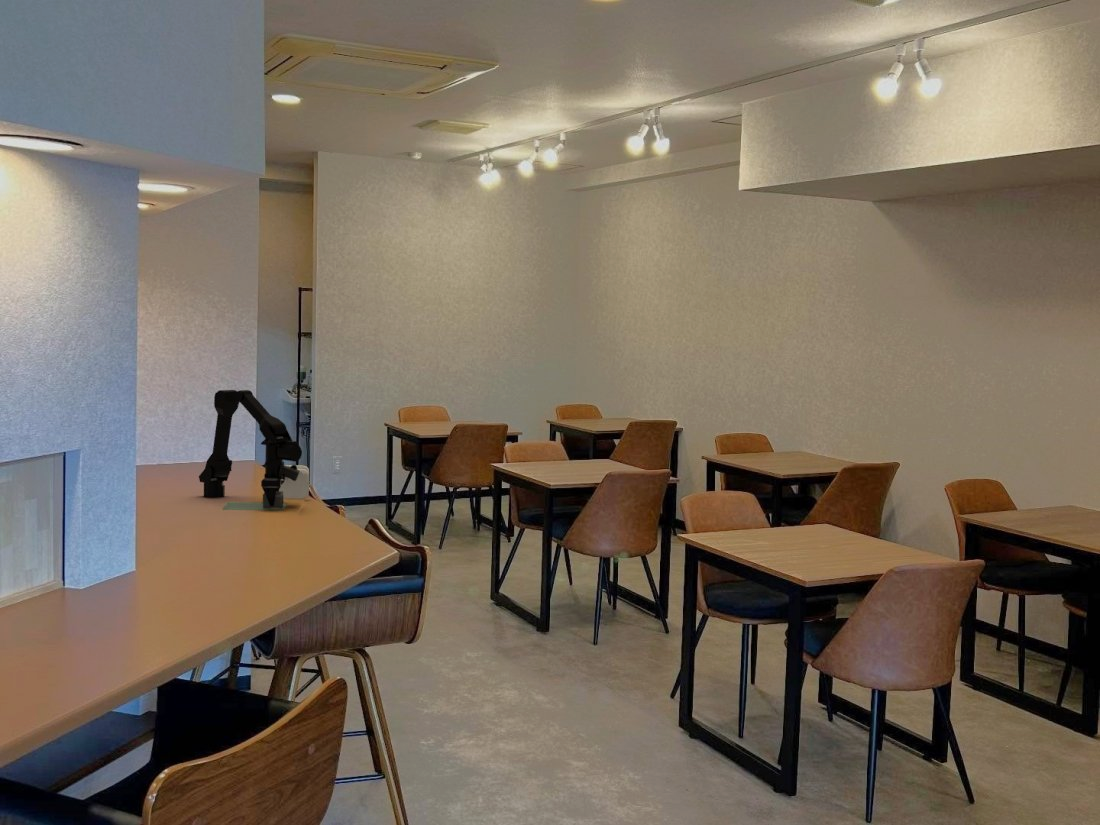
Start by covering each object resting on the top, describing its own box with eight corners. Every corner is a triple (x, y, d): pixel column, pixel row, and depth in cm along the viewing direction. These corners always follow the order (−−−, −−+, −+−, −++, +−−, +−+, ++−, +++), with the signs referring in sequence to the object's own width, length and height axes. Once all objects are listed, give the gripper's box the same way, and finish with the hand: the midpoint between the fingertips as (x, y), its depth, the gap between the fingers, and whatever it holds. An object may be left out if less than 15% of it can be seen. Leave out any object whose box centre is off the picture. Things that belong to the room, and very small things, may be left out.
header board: (221, 511, 342) (221, 500, 341) (228, 504, 356) (228, 493, 355) (283, 512, 345) (283, 501, 345) (287, 505, 359) (287, 494, 358)
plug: (263, 508, 347) (262, 495, 347) (265, 504, 354) (265, 491, 354) (281, 507, 348) (280, 494, 348) (283, 504, 355) (283, 491, 355)
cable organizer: (311, 496, 378) (311, 465, 378) (307, 501, 368) (308, 469, 367) (269, 496, 377) (270, 464, 376) (265, 500, 366) (265, 468, 365)
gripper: (295, 462, 342) (294, 508, 343) (300, 455, 360) (299, 499, 361) (261, 462, 340) (260, 508, 341) (268, 455, 358) (267, 499, 360)
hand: (273, 503), depth 351 cm, fingers open, 9 cm apart
